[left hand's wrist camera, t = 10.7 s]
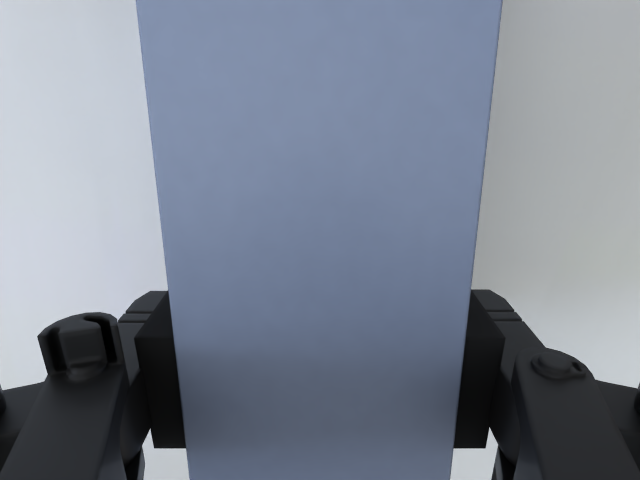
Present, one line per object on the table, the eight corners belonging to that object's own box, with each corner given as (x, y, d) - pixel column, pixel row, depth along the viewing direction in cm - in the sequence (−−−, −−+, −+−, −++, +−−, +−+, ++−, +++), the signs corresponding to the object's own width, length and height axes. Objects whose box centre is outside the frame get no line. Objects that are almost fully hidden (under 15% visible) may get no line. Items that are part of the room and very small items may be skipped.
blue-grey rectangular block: (240, -104, 15) (66, -583, 5) (397, -105, 15) (569, -584, 5) (260, 319, 19) (195, 544, 9) (379, 319, 19) (444, 544, 9)
